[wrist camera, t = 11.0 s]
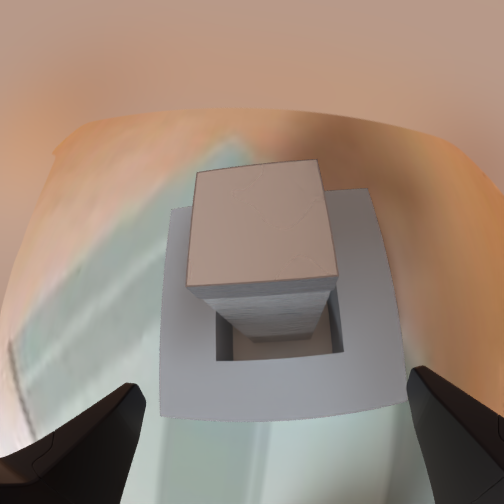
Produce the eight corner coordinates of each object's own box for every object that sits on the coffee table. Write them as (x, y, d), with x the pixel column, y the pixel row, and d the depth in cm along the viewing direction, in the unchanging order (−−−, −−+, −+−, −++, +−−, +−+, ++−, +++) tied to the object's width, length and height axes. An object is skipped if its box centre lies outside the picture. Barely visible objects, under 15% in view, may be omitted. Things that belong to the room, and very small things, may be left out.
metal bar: (311, 340, 18) (339, 276, 7) (253, 343, 19) (185, 287, 7) (306, 285, 20) (317, 159, 9) (252, 289, 21) (196, 172, 9)
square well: (381, 396, 16) (407, 401, 12) (190, 408, 18) (160, 416, 13) (356, 224, 22) (367, 188, 18) (193, 240, 24) (171, 209, 19)
